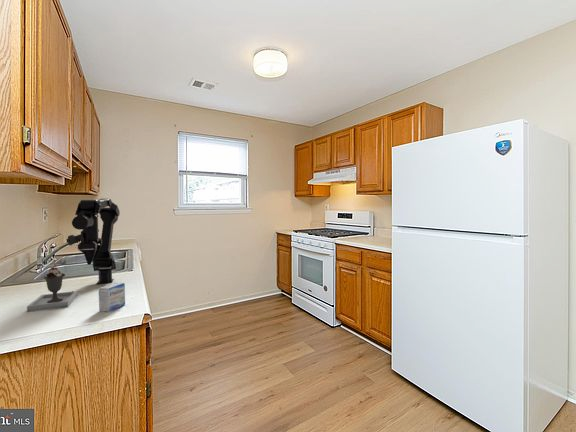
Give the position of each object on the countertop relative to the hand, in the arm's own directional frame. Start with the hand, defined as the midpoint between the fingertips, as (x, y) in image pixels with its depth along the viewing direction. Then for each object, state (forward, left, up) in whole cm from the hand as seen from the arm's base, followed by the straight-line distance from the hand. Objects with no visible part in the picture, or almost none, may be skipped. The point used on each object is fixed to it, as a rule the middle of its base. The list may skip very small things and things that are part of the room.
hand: (91, 262), depth 127 cm
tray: (+12, -11, -13) cm, 21 cm away
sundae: (+12, -10, -12) cm, 20 cm away
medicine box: (+28, +11, -13) cm, 33 cm away
